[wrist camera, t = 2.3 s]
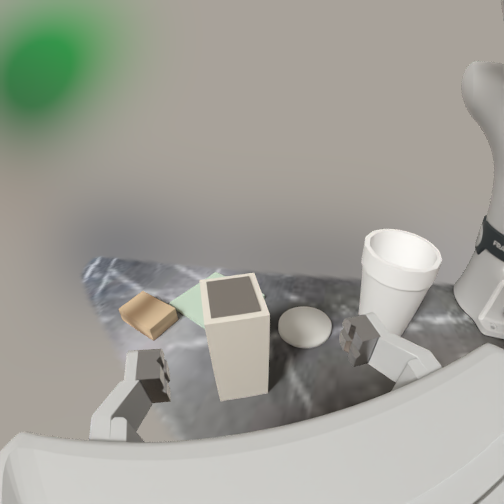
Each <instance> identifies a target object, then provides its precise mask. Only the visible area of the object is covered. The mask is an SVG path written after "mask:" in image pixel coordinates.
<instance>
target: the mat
mask: <svg viewBox="0 0 504 504" xmlns="http://www.w3.org/2000/svg"><path fill="white" fill-rule="evenodd" d="M220 277H225V276H223V275H221V274H219V273H217V272H215V273H214V274H212V275H211V276H209V277H208V278H206V279H212V278H220ZM262 295H263V298H264V299H265V295H264V294H262ZM170 306H172V307H174V308H175V309H176V310H177V311H178V312H180V313H181V314H183V315H184V316H186V317H187V318H189V319H190V320H192V321H193V322H195V323H196V324H198V325H199V326H201V327H203V328H204V329H205V326H204V318H203V309H202V300H201V290H200V283H199V284H197V285H195V286H194V287H192V288H191V289H189V290H188V291H186V292H185V293H183V294H182V295H180V296H179V297H177V298H176V299H174V300H173V301H171V302H170Z"/></svg>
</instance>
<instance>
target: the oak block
mask: <svg viewBox="0 0 504 504" xmlns="http://www.w3.org/2000/svg"><path fill="white" fill-rule="evenodd" d="M119 312H120V314H121V317H122V319H123V321H125V322H126V323H128V324H129V325H131V326H132V327H134V328H135V329H137V330H138V331H140V332H141V333H143V334H144V335H146V336H147V337H149V338H150V339H152V340H153V341H154V340H155V339H156V338H158V337H159V336H160V335H161V334H162V333H163V332H164V331H166V330H167V329H168V328H169V327H170V326H171V325H172V324H174V323H175V322H176V321H177V320H178V317H177V313H176V309H175V308H174V307H172V306H170V305H168V304H166V303H164V302H162V301H161V300H159V299H157V298H155V297H153V296H151V295H149V294H147V293H146V292H144V291H142V292H141V293H139V294H138V295H137V296H135V297H134V298H133V299H131V300H130V301H129V302H127V303H126V304H125V305H123V306H122V307H121V308H119Z"/></svg>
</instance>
